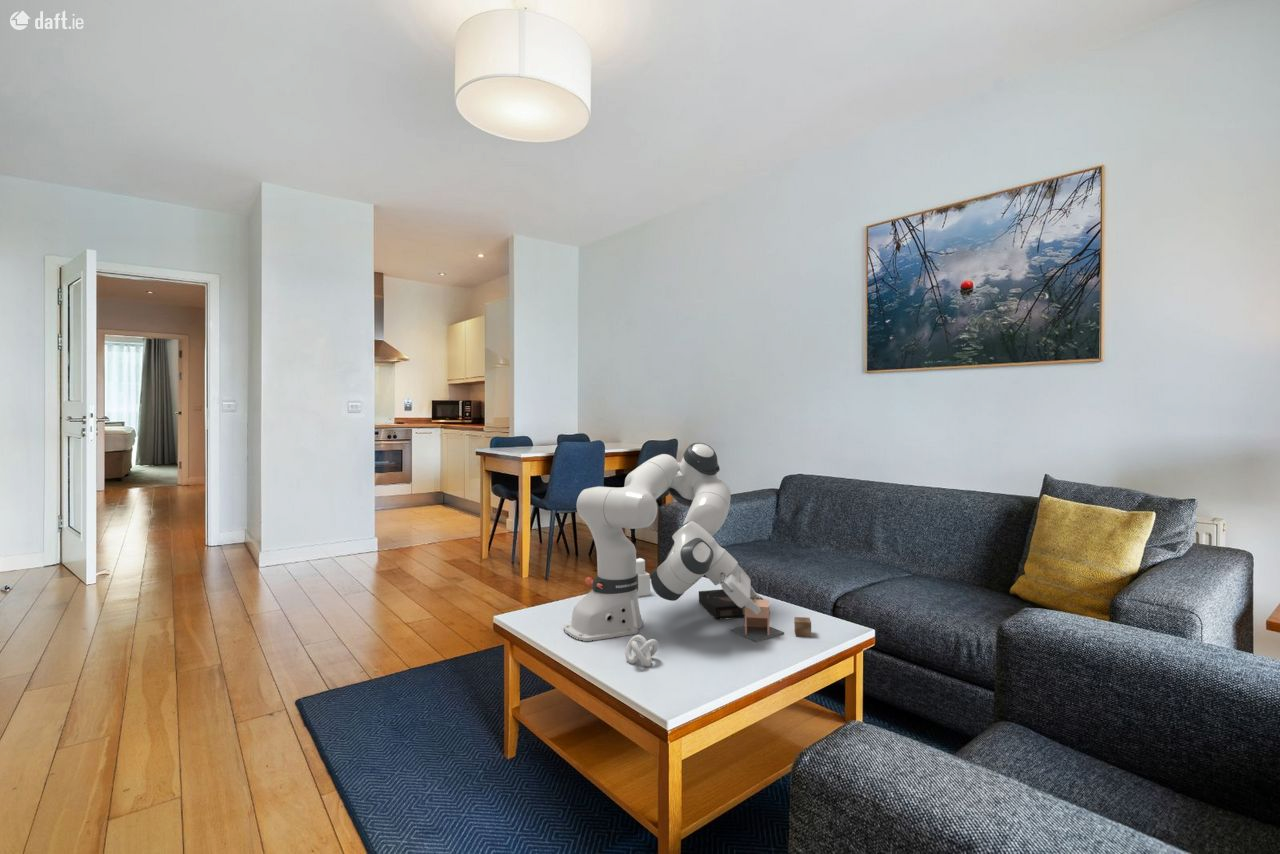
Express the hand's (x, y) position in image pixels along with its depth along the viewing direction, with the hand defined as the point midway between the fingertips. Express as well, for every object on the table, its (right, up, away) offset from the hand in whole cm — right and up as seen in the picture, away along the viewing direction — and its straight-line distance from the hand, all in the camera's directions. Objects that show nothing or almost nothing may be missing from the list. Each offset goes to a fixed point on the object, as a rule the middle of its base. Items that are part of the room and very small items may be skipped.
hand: (758, 606), depth 164 cm
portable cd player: (-4, -7, +21) cm, 22 cm away
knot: (-31, -8, -18) cm, 37 cm away
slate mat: (0, -7, 0) cm, 7 cm away
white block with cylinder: (-33, -7, +38) cm, 51 cm away
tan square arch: (0, -7, 0) cm, 7 cm away
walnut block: (+11, -7, -1) cm, 14 cm away
